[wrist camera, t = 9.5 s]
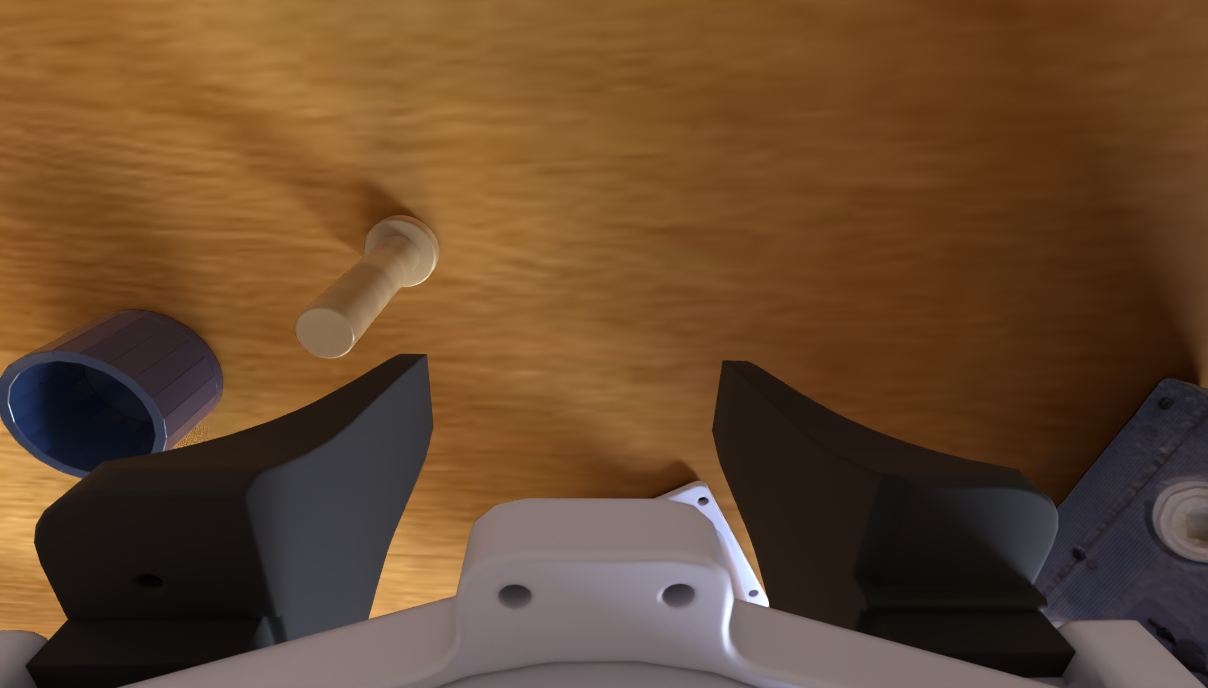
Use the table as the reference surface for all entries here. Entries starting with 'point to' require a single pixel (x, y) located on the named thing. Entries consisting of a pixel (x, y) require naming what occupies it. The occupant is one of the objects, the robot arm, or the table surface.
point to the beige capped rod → (368, 286)
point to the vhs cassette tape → (1141, 530)
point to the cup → (110, 391)
